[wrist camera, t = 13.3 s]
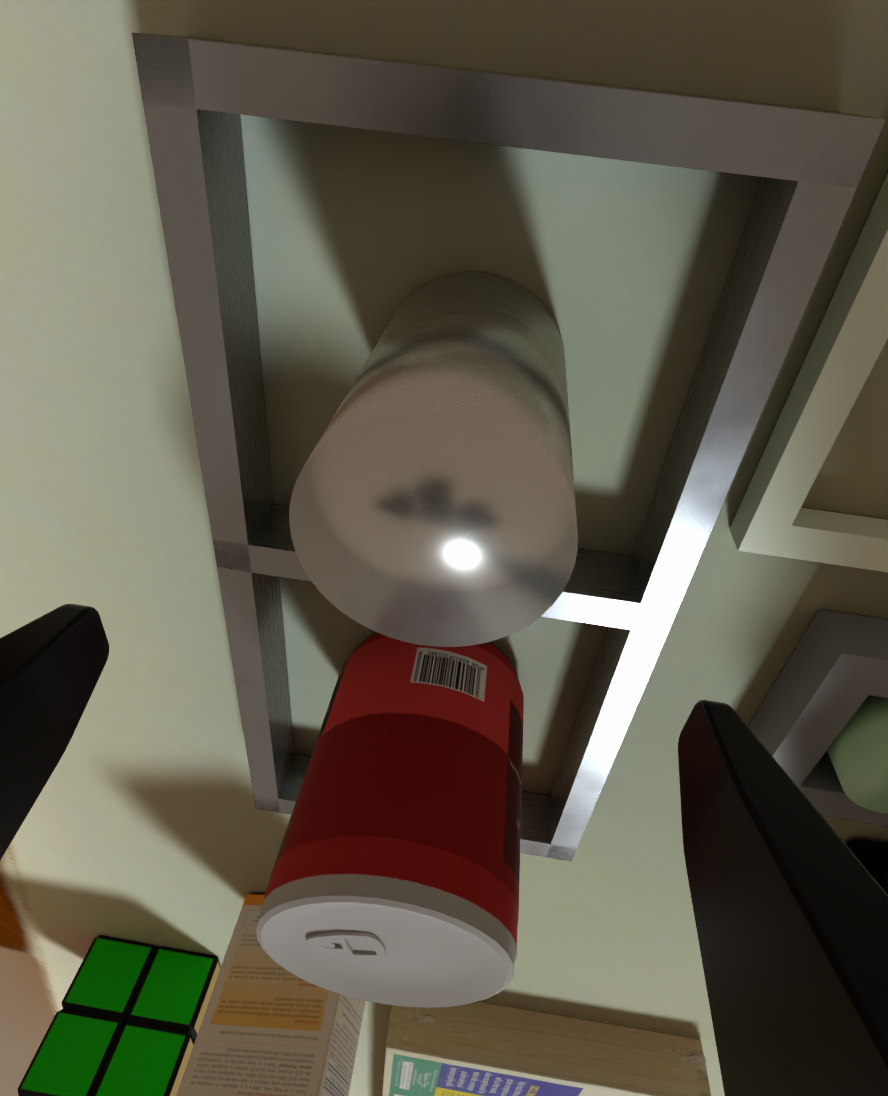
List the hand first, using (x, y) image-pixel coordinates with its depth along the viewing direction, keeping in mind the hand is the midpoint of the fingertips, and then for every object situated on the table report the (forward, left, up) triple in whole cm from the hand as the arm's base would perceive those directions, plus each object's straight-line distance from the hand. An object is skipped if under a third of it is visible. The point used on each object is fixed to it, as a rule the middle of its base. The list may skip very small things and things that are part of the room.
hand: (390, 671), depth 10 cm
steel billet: (0, 0, -12) cm, 12 cm away
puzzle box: (-67, -12, -13) cm, 70 cm away
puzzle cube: (-55, +19, -13) cm, 59 cm away
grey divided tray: (-7, 0, -12) cm, 14 cm away
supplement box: (-39, +6, -13) cm, 41 cm away
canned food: (-14, 0, -13) cm, 19 cm away
